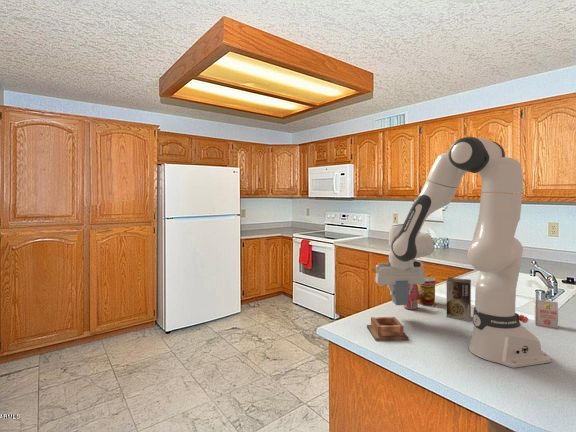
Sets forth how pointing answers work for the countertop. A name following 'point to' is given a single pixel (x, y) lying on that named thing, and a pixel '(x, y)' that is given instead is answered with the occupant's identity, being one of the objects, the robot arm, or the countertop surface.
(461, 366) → the countertop surface
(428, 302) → the canned food
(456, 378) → the countertop surface
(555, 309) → the beige food box
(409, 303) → the beverage can
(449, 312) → the coffee box
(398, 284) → the square peg
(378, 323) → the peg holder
